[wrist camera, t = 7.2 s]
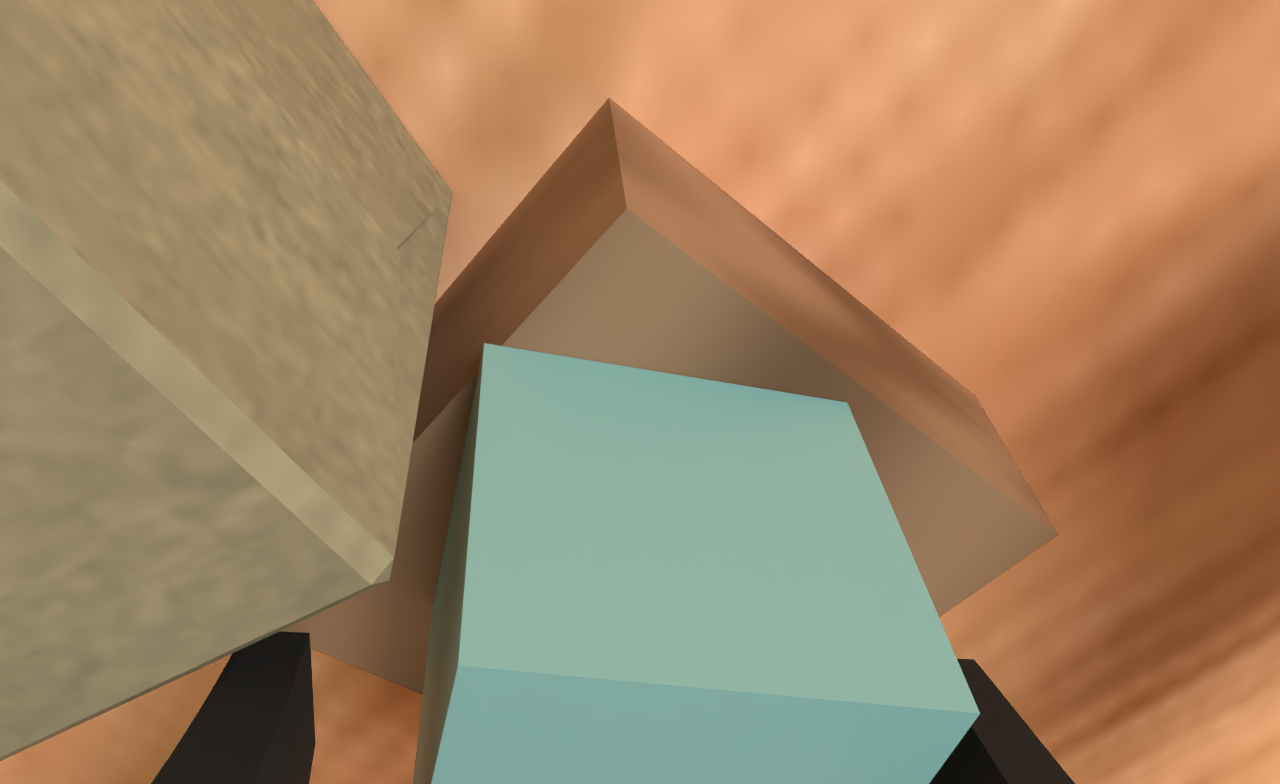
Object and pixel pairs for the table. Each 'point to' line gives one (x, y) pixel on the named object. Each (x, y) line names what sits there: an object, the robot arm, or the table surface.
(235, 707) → the robot arm
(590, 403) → the teal cube
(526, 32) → the table surface
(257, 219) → the tissue box
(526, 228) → the walnut block
